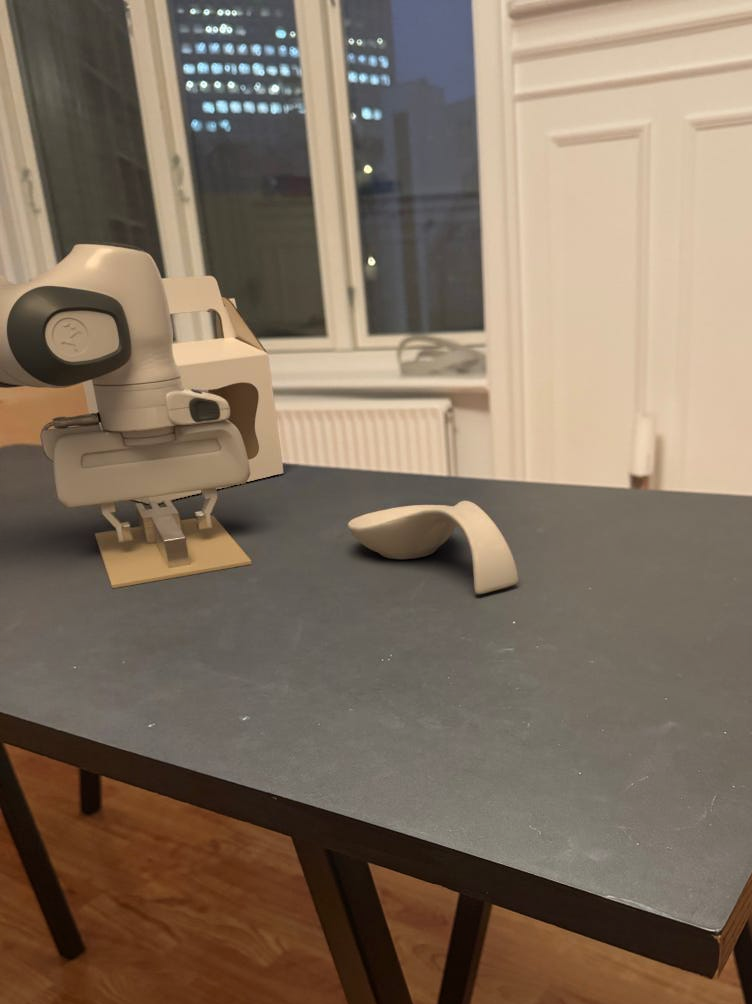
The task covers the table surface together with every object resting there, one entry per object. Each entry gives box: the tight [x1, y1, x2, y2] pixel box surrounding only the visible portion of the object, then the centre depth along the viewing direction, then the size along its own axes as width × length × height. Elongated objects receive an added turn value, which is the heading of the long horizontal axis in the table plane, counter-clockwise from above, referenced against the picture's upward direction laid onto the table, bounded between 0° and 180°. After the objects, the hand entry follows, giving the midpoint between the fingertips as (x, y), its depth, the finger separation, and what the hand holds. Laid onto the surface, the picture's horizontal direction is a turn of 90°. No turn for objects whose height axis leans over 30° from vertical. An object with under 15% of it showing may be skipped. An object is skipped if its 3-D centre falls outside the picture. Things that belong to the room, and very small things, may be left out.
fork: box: [134, 499, 190, 568], centre depth 103 cm, size 19×4×3 cm, turn 25°
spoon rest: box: [347, 500, 519, 595], centre depth 93 cm, size 24×12×7 cm, turn 34°
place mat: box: [94, 515, 253, 589], centre depth 103 cm, size 22×14×1 cm, turn 25°
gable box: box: [82, 275, 285, 505], centre depth 129 cm, size 22×13×28 cm, turn 137°
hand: (165, 534), depth 103 cm, fingers open, 7 cm apart
